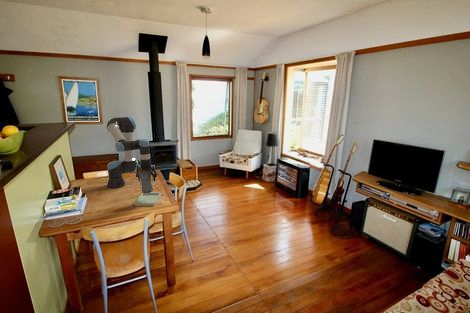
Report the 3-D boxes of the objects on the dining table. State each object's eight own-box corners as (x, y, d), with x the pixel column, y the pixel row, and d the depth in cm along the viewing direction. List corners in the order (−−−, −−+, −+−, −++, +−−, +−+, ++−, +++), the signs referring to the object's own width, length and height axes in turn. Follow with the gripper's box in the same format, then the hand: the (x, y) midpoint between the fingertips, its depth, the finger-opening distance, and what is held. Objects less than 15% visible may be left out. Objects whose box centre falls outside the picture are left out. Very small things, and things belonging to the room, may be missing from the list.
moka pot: (136, 191, 197) (134, 168, 192) (153, 187, 208) (152, 165, 203) (141, 195, 191) (139, 171, 185) (159, 190, 201) (158, 167, 196)
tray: (142, 194, 211) (142, 192, 210) (161, 194, 212) (161, 192, 211) (134, 205, 191) (133, 202, 190) (154, 205, 192) (154, 203, 191)
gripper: (129, 159, 188) (132, 186, 194) (158, 160, 189) (159, 186, 195) (133, 157, 195) (135, 183, 201) (160, 157, 196) (162, 183, 202)
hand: (147, 184), depth 198 cm, fingers closed on moka pot, 9 cm apart
